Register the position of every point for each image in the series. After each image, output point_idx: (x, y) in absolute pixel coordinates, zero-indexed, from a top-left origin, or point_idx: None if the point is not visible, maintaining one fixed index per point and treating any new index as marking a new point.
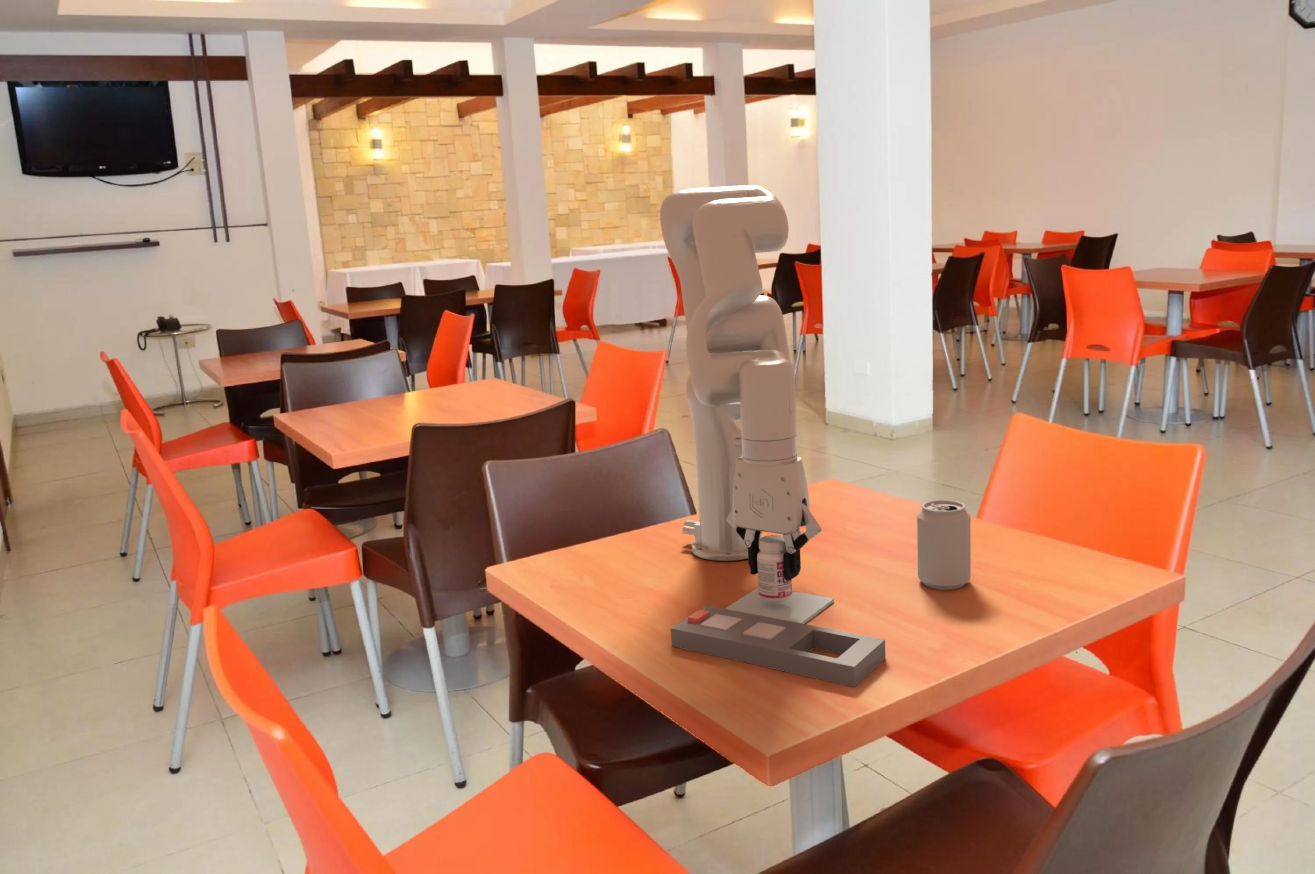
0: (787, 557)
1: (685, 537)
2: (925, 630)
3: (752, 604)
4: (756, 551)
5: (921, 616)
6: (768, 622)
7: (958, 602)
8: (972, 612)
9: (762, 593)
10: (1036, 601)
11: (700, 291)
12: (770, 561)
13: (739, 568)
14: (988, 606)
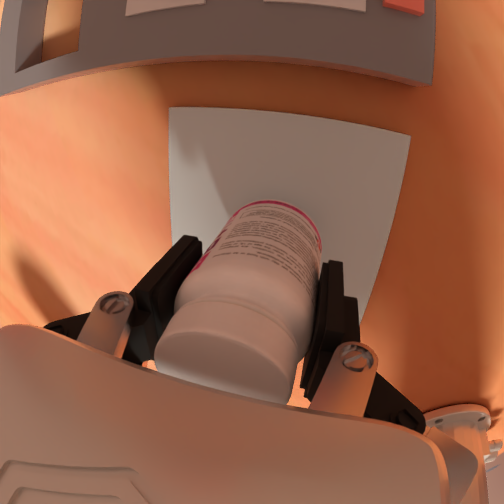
0: (143, 279)
1: (490, 440)
2: (28, 213)
3: (340, 220)
4: (314, 332)
5: (53, 260)
6: (182, 22)
7: (56, 313)
8: (32, 286)
9: (292, 209)
10: (23, 321)
11: None
12: (222, 264)
13: (417, 394)
14: (34, 305)
